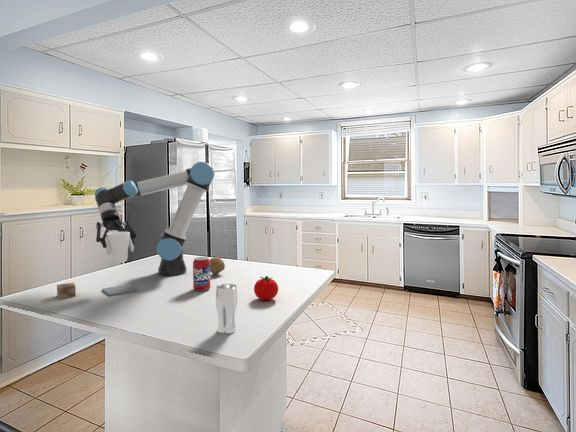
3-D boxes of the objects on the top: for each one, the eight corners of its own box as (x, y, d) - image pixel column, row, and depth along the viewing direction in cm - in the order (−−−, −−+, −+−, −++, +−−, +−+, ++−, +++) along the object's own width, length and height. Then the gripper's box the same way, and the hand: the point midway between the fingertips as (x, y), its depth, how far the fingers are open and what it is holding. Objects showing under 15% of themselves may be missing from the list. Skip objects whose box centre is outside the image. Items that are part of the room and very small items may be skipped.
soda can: (204, 286, 162) (204, 255, 161) (213, 289, 157) (213, 258, 156) (190, 289, 157) (189, 257, 156) (198, 293, 151) (198, 260, 150)
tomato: (269, 305, 136) (269, 281, 135) (248, 300, 142) (248, 277, 141) (282, 298, 145) (283, 275, 144) (263, 294, 151) (263, 272, 150)
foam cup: (121, 263, 147) (120, 234, 146) (102, 262, 149) (101, 233, 148) (135, 259, 157) (134, 231, 156) (117, 258, 159) (116, 231, 158)
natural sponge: (223, 272, 190) (223, 255, 190) (225, 276, 182) (225, 258, 181) (207, 273, 187) (207, 255, 187) (208, 277, 179) (208, 259, 178)
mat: (129, 285, 162) (129, 283, 162) (138, 291, 154) (138, 289, 154) (102, 290, 154) (102, 288, 154) (110, 296, 145) (110, 294, 145)
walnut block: (73, 293, 150) (72, 282, 149) (75, 296, 145) (75, 285, 145) (57, 296, 146) (56, 284, 145) (59, 299, 141) (58, 288, 141)
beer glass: (226, 324, 116) (226, 282, 115) (241, 329, 112) (241, 285, 111) (211, 331, 110) (211, 287, 109) (226, 336, 106) (226, 290, 105)
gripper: (131, 218, 170) (144, 253, 160) (81, 220, 155) (92, 259, 145) (135, 208, 166) (148, 243, 156) (84, 209, 151) (95, 249, 141)
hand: (121, 251), depth 150 cm, fingers closed on foam cup, 9 cm apart
